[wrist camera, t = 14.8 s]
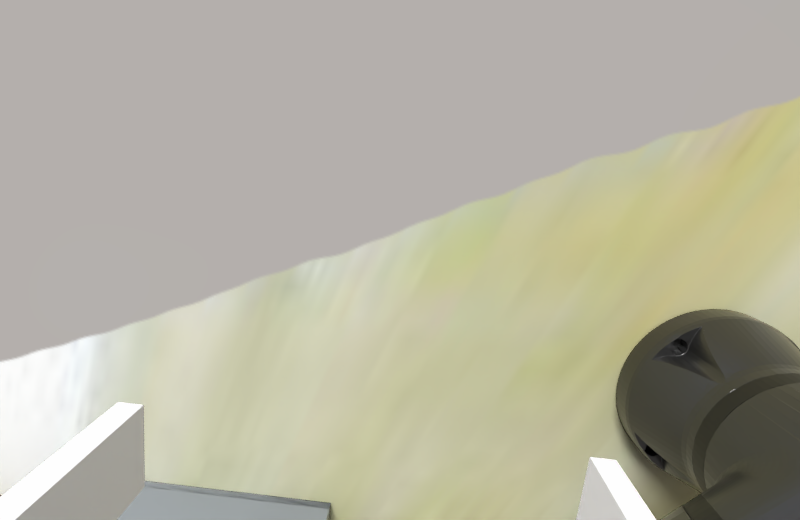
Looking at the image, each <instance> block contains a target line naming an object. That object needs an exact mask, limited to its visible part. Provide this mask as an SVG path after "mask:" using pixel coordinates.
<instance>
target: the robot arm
mask: <svg viewBox="0 0 800 520" xmlns="http://www.w3.org/2000/svg"><path fill="white" fill-rule="evenodd" d="M616 399H617V409H618V413H619V417H620V420H621V423H622V425H623V427H624V429H625V431H626V432H627V434H628V435H629V437H630V438H631V439H632V441H633V442H634V443H635V444H636V446H637V447H638V448H639V450H640V451H641V452H642V453H643V454H644V455H645V456H646V457H647V458H648V459H649V460H650V461H651V462H652V463H653V464H655V465H656V466H657V467H659V468H660V469H662V470H663V471H665V472H667V473H668V474H670V475H672V476H674V477H675V478H677V479H679V480H681V481H682V482H684V483H686V484H687V485H689V486H691V487H693V488H694V489H696V490H698V491H700V492H701V494H700V495H698V496H697V497H695V498H694V499H692V500H691V501H689V502H687V503H686V504H684V505H682V506H680V507H679V508H677V509H676V510H674V511H673V512H671V513H669V514H668V515H666V516H665V517H663V518H662V519H660V520H800V349H799V348H798V347H797V346H796V344H795V343H794V342H792V341H791V340H790V339H789V338H788V337H787V336H786V335H784V334H783V333H781V332H780V331H779V330H777V329H775V328H774V327H772V326H770V325H768V324H766V323H764V322H761V321H759V320H757V319H755V318H753V317H751V316H748V315H746V314H743V313H739V312H735V311H730V310H721V309H709V310H700V311H694V312H690V313H686V314H683V315H680V316H677V317H675V318H673V319H670V320H668V321H666V322H665V323H663V324H661V325H660V326H658V327H657V328H655V329H654V330H652V331H651V332H650V333H649V334H647V335H646V336H645V337H644V338H643V339H642V340H641V341H640V342H639V343H638V344H637V346H636V347H635V348H634V349H633V351H632V352H631V353H630V355H629V357H628V358H627V360H626V362H625V364H624V366H623V368H622V371H621V373H620V377H619V380H618V385H617V397H616ZM144 487H145V472H144V405H140V404H132V403H123V402H117V403H116V404H115V405H114V406H112V407H111V408H110V409H109V410H107V411H106V412H105V413H104V414H102V415H101V416H100V417H99V418H97V419H96V420H95V421H94V422H92V423H91V424H90V425H89V426H87V427H86V428H85V429H84V430H83V431H81V432H80V433H79V434H78V435H76V436H75V437H74V438H73V439H71V440H70V441H69V442H68V443H66V444H65V445H64V446H63V447H61V448H60V449H59V450H58V451H56V452H55V453H54V454H53V455H51V456H50V457H49V458H48V459H46V460H45V461H44V462H43V463H42V464H40V465H39V466H38V467H37V468H35V469H34V470H33V471H32V472H30V473H29V474H28V475H27V476H25V477H24V478H23V479H22V480H20V481H19V482H18V483H17V484H15V485H14V486H13V487H12V488H10V489H9V490H8V491H7V492H5V493H4V494H3V495H2V496H1V497H0V520H117V519H118V518H119V516H120V515H121V514H122V513H123V512H124V511H125V509H126V508H127V507H128V506H129V505H130V503H131V502H132V501H133V500H134V499H135V497H136V496H137V495H138V494H139V493H140V491H141V490H142V489H143V488H144ZM576 520H656V519H655V517H654V516H653V514H652V513H651V511H650V510H649V508H648V507H647V505H646V504H645V502H644V501H643V499H642V498H641V496H640V495H639V493H638V492H637V490H636V489H635V487H634V486H633V484H632V483H631V481H630V480H629V478H628V477H627V475H626V474H625V472H624V471H623V469H622V468H621V466H620V465H619V463H618V462H617V460H613V459H604V458H595V457H590V458H589V463H588V468H587V472H586V477H585V481H584V486H583V491H582V495H581V500H580V504H579V509H578V514H577V518H576Z"/></svg>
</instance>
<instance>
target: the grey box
mask: <svg viewBox="0 0 800 520" xmlns="http://www.w3.org/2000/svg"><path fill="white" fill-rule="evenodd" d="M329 515H330V503H326V502H317V501H309V500H300V499H292V498H284V497H275V496H267V495H258V494H250V493H241V492H233V491H225V490H216V489H208V488H199V487H191V486H183V485H174V484H166V483H157V482H149V481H145V487H144V488H143V489H142V490H141V491H140V493H139V494H138V495H137V496H136V497H135V499H134V500H133V501H132V502H131V503H130V505H129V506H128V507H127V508H126V509H125V511H124V512H123V513H122V514H121V515H120V516H119V518H118V519H117V520H329Z"/></svg>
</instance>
